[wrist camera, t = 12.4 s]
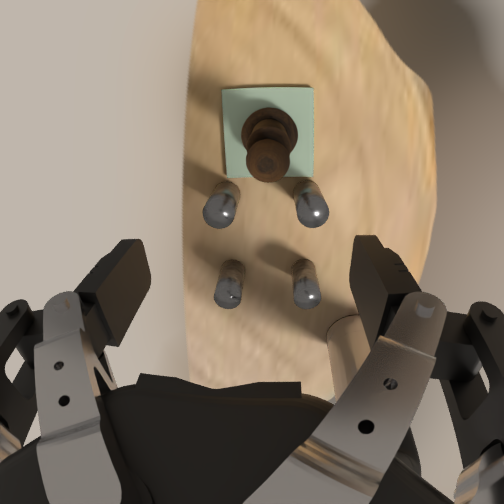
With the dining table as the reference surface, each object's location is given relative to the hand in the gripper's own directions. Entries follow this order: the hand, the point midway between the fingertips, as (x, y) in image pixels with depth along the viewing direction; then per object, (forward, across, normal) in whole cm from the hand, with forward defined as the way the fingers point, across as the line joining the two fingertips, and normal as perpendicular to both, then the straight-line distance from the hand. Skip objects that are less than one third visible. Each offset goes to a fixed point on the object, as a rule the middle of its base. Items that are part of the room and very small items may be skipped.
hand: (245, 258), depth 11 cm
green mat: (+28, -1, -2) cm, 28 cm away
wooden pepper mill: (+28, -1, -1) cm, 28 cm away
